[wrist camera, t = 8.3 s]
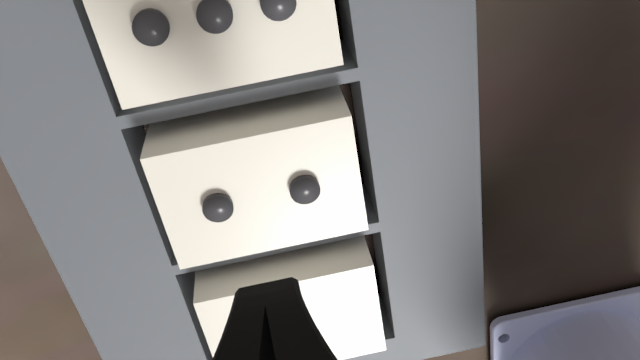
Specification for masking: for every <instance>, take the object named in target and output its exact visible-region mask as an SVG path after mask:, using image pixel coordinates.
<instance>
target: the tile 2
mask: <svg viewBox="0 0 640 360" xmlns="http://www.w3.org/2000/svg"><path fill="white" fill-rule="evenodd" d="M289 277H293V278H295V279H297V280H298V282H299V286H300V290H301V294H302V297H303V300H304V302H305V305H306V307H307V309H308V311H309V313H310V315H311V317H312V319H313V321H314V323H315V325H316V326H317V328H318V330H319V331H320V333H321V335H322V336H323V338H324V340H325V341H326V343H327V345H328V346H329V348H330V349H331V351H332V352H333V354H334V355H335V356H336V358H337V359H338V360H344V359H348V358H353V357H358V356H362V355H367V354H371V353H376V352H381V351H385V350H386V344H385V337H384V331H383V324H382V317H381V311H380V304H379V297H378V290H377V284H376V277H375V270H374V265H373V262H372V259H371V255H370V252H369V249H368V246H367V243H366V240H365V237H364V235H363V236H358V237H354V238H349V239H344V240H340V241H335V242H330V243H325V244H321V245H316V246H311V247H306V248H302V249H297V250H292V251H288V252H283V253H278V254H273V255H269V256H264V257H259V258H254V259H250V260H245V261H240V262H236V263H231V264H226V265H221V266H217V267H212V268H207V269H203V270H198V271H195V283H194V298H193V305H194V308H195V310H196V313H197V316H198V319H199V321H200V324H201V327H202V330H203V332H204V335H205V338H206V341H207V343H208V346H209V349H210V352H211V354H212V357H214V354H215V352H216V349H217V347H218V344H219V342H220V339H221V337H222V334H223V331H224V328H225V325H226V323H227V320H228V317H229V313H230V310H231V307H232V303H233V300H234V295H235V292H236V291H237V290H238V289H239V288H242V287H247V286H251V285H256V284H261V283H266V282H270V281H275V280H280V279H285V278H289Z"/></svg>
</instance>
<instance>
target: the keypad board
mask: <svg viewBox="0 0 640 360" xmlns="http://www.w3.org/2000/svg"><path fill="white" fill-rule="evenodd" d="M338 4H339V11H340V18H341V25H342V31H343V38H344V41H340V43H341V50H342V56H343V63H344V65H341V66H336V67H331V68H326V69H321V70H316V71H311V72H306V73H301V74H297V75H292V76H287V77H282V78H277V79H272V80H267V81H262V82H257V83H252V84H247V85H242V86H238V87H233V88H228V89H223V90H218V91H213V92H208V93H203V94H198V95H193V96H188V97H184V98H179V99H174V100H169V101H164V102H159V103H154V104H149V105H144V106H139V107H134V108H130V109H125V110H122V108H121V105H120V102H119V100H118V97H117V94H116V91H115V89H114V86H113V83H112V81H111V78H110V75H109V72H108V70H107V67H106V64H105V61H104V59H103V56H102V53H101V50H100V48H99V45H98V42H97V39H96V37H95V34H94V31H93V29H92V26H91V23H90V20H89V18H88V15H87V12H86V9H85V7H84V4H83V1H82V0H0V157H1V159H2V161H3V163H4V165H5V167H6V169H7V171H8V173H9V175H10V177H11V179H12V181H13V183H14V185H15V187H16V189H17V191H18V193H19V195H20V197H21V199H22V201H23V203H24V205H25V207H26V209H27V211H28V213H29V215H30V217H31V219H32V221H33V223H34V225H35V227H36V229H37V231H38V233H39V235H40V237H41V239H42V241H43V243H44V245H45V246H46V248H47V250H48V252H49V254H50V256H51V258H52V260H53V262H54V264H55V266H56V268H57V270H58V272H59V274H60V276H61V278H62V280H63V282H64V284H65V286H66V288H67V290H68V292H69V294H70V296H71V298H72V300H73V302H74V304H75V306H76V308H77V310H78V312H79V314H80V316H81V318H82V320H83V322H84V324H85V326H86V328H87V330H88V332H89V334H90V336H91V338H92V340H93V342H94V344H95V346H96V348H97V350H98V352H99V354H100V356H101V358H102V360H212V359H213V357H212V354H211V352H210V349H209V346H208V343H207V341H206V338H205V335H204V332H203V330H202V327H201V324H200V321H199V319H198V316H197V313H196V310H195V308H194V305H193V298H194V283H195V273H194V271H198V270H203V269H207V268H212V267H217V266H221V265H226V264H231V263H236V262H240V261H245V260H250V259H254V258H259V257H264V256H269V255H273V254H278V253H283V252H288V251H292V250H297V249H302V248H306V247H311V246H316V245H321V244H325V243H330V242H335V241H340V240H344V239H349V238H354V237H358V236H363V235H368V234H372V237H373V244H374V250H375V257H376V264H377V271H378V278H379V285H380V291H381V294H378V297H379V304H380V311H381V317H382V324H383V331H384V337H385V344H386V350H385V351H381V352H376V353H371V354H367V355H362V356H358V357H353V358H348V359H344V360H423V359H427V358H432V357H436V356H441V355H446V354H450V353H455V352H459V351H464V350H469V349H473V348H478V347H482V346H486V345H485V309H484V273H483V238H482V202H481V166H480V131H479V95H478V59H477V24H476V0H338ZM346 83H350V86H351V93H352V100H353V107H354V114H355V120H356V127H357V134H358V141H359V148H360V155H361V161H362V168H363V175H364V182H365V184H362V189H363V195H364V202H365V209H366V215H367V222H368V229H369V230H366V231H361V232H356V233H351V234H347V235H342V236H337V237H333V238H328V239H323V240H318V241H314V242H309V243H304V244H299V245H295V246H290V247H285V248H281V249H276V250H271V251H266V252H262V253H257V254H252V255H247V256H243V257H238V258H233V259H229V260H224V261H219V262H214V263H210V264H205V265H200V266H195V267H191V268H186V269H181V270H180V268H179V265H178V263H177V260H176V257H175V255H174V252H173V249H172V246H171V244H170V241H169V238H168V235H167V233H166V230H165V227H164V225H163V222H162V219H161V216H160V214H159V211H158V208H157V205H156V203H155V200H154V197H153V194H152V192H151V189H150V186H149V184H148V181H147V178H146V175H145V173H144V170H143V167H142V164H141V162H140V156H141V153H142V149H143V145H144V141H145V137H146V133H145V131H144V128H143V125H146V124H151V123H155V122H160V121H165V120H170V119H175V118H180V117H185V116H190V115H195V114H199V113H204V112H209V111H214V110H219V109H224V108H229V107H234V106H239V105H243V104H248V103H253V102H258V101H263V100H268V99H273V98H278V97H283V96H287V95H292V94H297V93H302V92H307V91H312V90H317V89H322V88H327V87H332V86H336V85H341V84H346Z"/></svg>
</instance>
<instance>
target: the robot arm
mask: <svg viewBox="0 0 640 360" xmlns="http://www.w3.org/2000/svg"><path fill="white" fill-rule="evenodd" d="M503 334H504V335H503ZM501 335H502V336H501ZM490 355H491V360H640V286H638V287H634V288H629V289H625V290H620V291H615V292H611V293H606V294H601V295H597V296H592V297H588V298H583V299H578V300H574V301H569V302H565V303H560V304H555V305H551V306H546V307H542V308H537V309H532V310H528V311H523V312H518V313H514V314H509V315H505V316H500V317H497V318H496V319H494V320H493V321H492V323H491V324H490ZM212 360H338V359H337V358H336V356H335V355H334V354H333V352H332V351H331V349H330V348H329V346H328V345H327V343H326V341H325V340H324V338H323V336H322V335H321V333H320V331H319V330H318V328H317V326H316V325H315V323H314V321H313V319H312V317H311V315H310V313H309V311H308V309H307V307H306V305H305V302H304V300H303V297H302V294H301V290H300V286H299V282H298V280H297V279H295V278H293V277H289V278H285V279H280V280H275V281H270V282H266V283H261V284H256V285H251V286H247V287H242V288H239V289H238V290H237V291H236V292H235V295H234V300H233V303H232V307H231V310H230V313H229V317H228V320H227V323H226V325H225V328H224V331H223V334H222V337H221V339H220V342H219V344H218V347H217V349H216V352H215V354H214V357H213V359H212Z"/></svg>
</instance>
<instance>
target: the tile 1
mask: <svg viewBox="0 0 640 360" xmlns="http://www.w3.org/2000/svg"><path fill="white" fill-rule="evenodd" d="M140 162H141V164H142V167H143V170H144V173H145V175H146V178H147V181H148V184H149V186H150V189H151V192H152V194H153V197H154V200H155V203H156V205H157V208H158V211H159V214H160V216H161V219H162V222H163V225H164V227H165V230H166V233H167V235H168V238H169V241H170V244H171V246H172V249H173V252H174V255H175V257H176V260H177V263H178V265H179V268H180V270H181V269H186V268H191V267H195V266H200V265H205V264H210V263H214V262H219V261H224V260H229V259H233V258H238V257H243V256H247V255H252V254H257V253H262V252H266V251H271V250H276V249H281V248H285V247H290V246H295V245H299V244H304V243H309V242H314V241H318V240H323V239H328V238H333V237H337V236H342V235H347V234H351V233H356V232H361V231H366V230H369V229H368V222H367V215H366V209H365V202H364V195H363V189H362V182H361V175H360V169H359V162H358V155H357V148H356V142H355V135H354V128H353V122H352V116H351V113H350V111H349V108H348V106H347V104H346V101H345V99H344V96H343V94H342V92H341V89H340V87H339V85H336V86H332V87H327V88H322V89H317V90H312V91H307V92H302V93H297V94H292V95H287V96H283V97H278V98H273V99H268V100H263V101H258V102H253V103H248V104H243V105H239V106H234V107H229V108H224V109H219V110H214V111H209V112H204V113H199V114H195V115H190V116H185V117H180V118H175V119H170V120H165V121H160V122H155V123H151V124H149V125H148V129H147V133H146V137H145V141H144V145H143V149H142V153H141V156H140Z"/></svg>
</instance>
